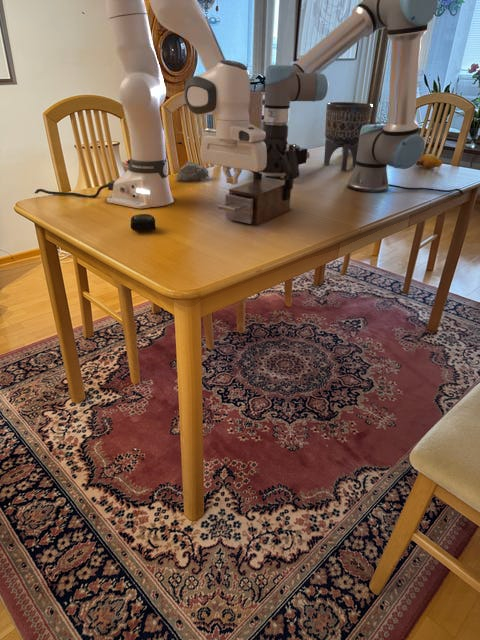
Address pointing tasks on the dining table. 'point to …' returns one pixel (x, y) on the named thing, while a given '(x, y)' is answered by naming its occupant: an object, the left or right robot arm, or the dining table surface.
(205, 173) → the rock
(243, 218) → the drawer
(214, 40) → the left robot arm
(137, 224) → the tape measure
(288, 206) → the cabinet
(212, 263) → the dining table surface
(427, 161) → the toy
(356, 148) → the planter
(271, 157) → the mechanical component
